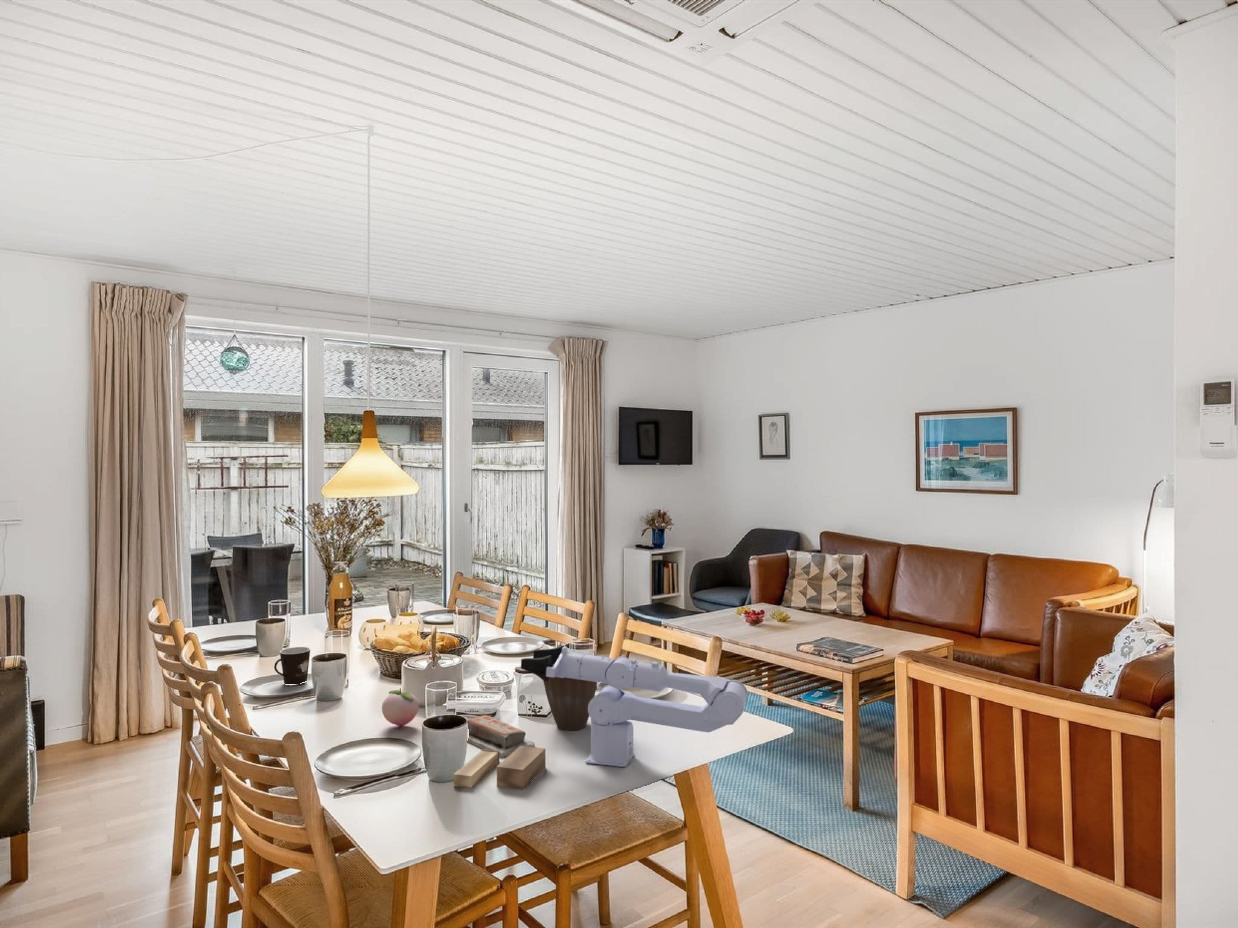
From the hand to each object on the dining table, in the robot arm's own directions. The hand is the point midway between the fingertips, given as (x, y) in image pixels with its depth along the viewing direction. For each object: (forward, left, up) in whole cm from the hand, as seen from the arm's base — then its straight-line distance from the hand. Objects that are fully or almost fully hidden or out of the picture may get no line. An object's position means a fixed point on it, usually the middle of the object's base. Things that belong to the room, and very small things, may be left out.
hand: (527, 658), depth 180 cm
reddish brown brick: (+10, -3, -22) cm, 25 cm away
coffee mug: (+91, -31, -22) cm, 99 cm away
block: (-4, +14, -22) cm, 26 cm away
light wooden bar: (+6, +15, -22) cm, 27 cm away
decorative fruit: (+38, -6, -22) cm, 44 cm away
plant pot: (-4, -18, -22) cm, 29 cm away
